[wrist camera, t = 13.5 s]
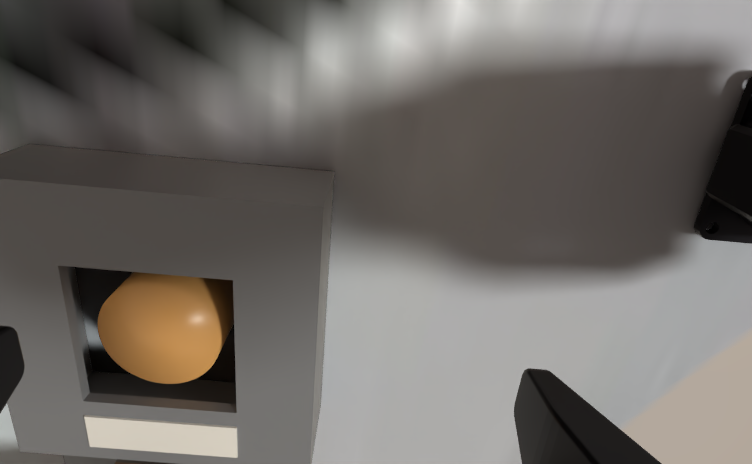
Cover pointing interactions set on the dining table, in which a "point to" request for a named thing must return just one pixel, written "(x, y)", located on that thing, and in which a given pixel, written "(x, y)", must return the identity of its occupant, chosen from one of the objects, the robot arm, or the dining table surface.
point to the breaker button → (167, 325)
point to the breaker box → (169, 257)
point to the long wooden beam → (137, 462)
